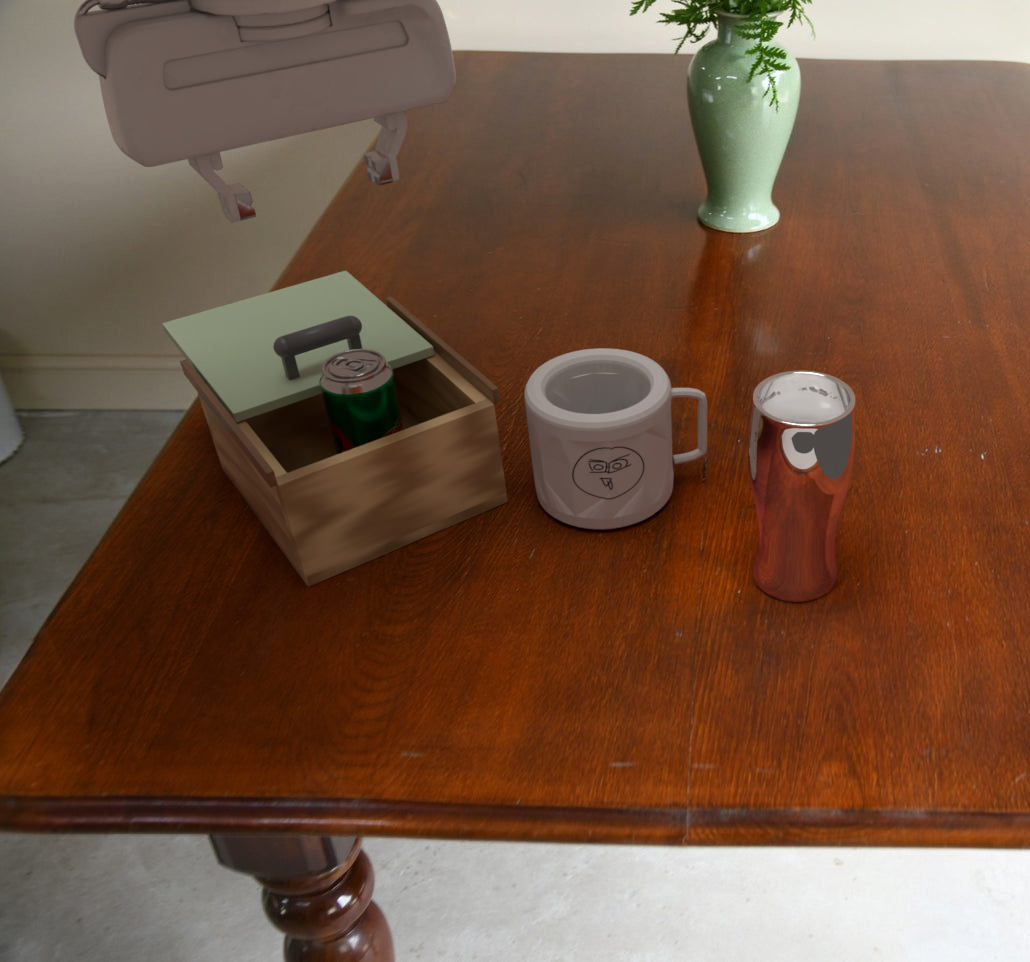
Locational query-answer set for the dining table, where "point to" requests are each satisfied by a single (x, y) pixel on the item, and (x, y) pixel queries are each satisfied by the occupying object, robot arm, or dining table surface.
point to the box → (367, 465)
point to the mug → (605, 436)
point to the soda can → (360, 398)
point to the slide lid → (289, 341)
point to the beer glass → (799, 479)
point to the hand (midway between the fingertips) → (314, 198)
